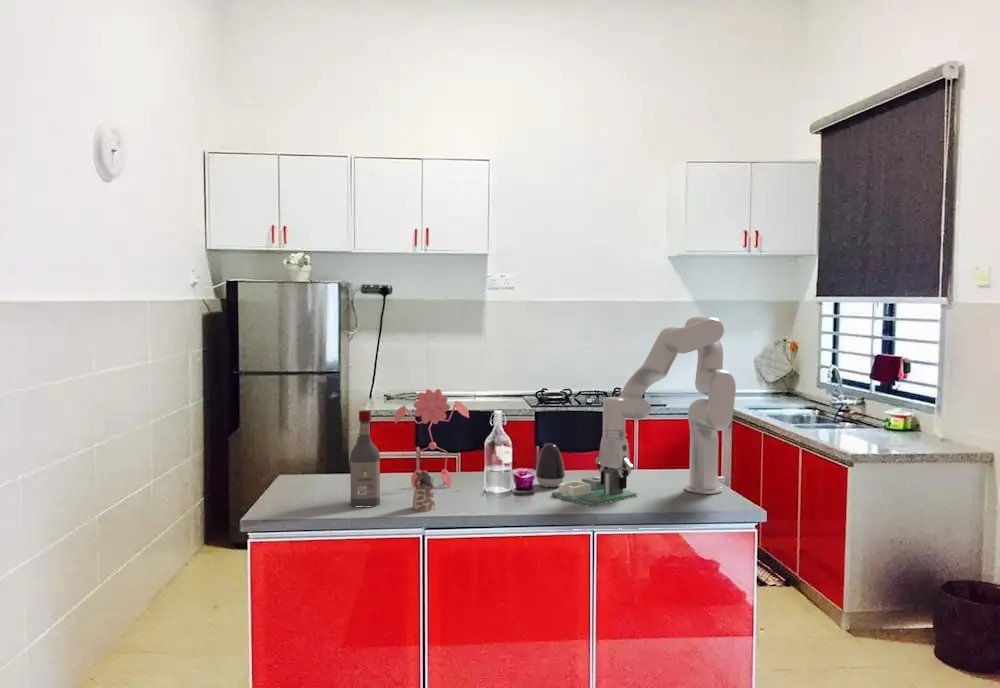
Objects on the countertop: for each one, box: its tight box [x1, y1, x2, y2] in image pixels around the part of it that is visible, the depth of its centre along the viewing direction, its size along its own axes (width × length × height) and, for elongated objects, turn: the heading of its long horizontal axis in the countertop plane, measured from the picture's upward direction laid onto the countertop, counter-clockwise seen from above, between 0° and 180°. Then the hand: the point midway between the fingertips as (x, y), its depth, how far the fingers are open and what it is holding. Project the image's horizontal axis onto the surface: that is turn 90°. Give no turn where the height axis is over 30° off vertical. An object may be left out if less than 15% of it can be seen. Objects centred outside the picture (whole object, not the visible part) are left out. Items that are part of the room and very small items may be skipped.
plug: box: [604, 468, 624, 495], centre depth 269 cm, size 6×4×8 cm
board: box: [551, 489, 638, 507], centre depth 269 cm, size 22×18×3 cm
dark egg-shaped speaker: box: [535, 442, 566, 488], centre depth 284 cm, size 10×10×15 cm
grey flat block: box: [581, 475, 604, 490], centre depth 278 cm, size 7×7×3 cm
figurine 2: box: [412, 470, 436, 512], centre depth 252 cm, size 7×7×12 cm
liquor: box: [349, 409, 381, 507], centre depth 257 cm, size 9×9×30 cm
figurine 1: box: [393, 388, 470, 493], centre depth 277 cm, size 15×26×35 cm, turn 96°
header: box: [558, 480, 591, 497], centre depth 269 cm, size 8×7×3 cm
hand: (613, 486), depth 269 cm, fingers open, 7 cm apart
